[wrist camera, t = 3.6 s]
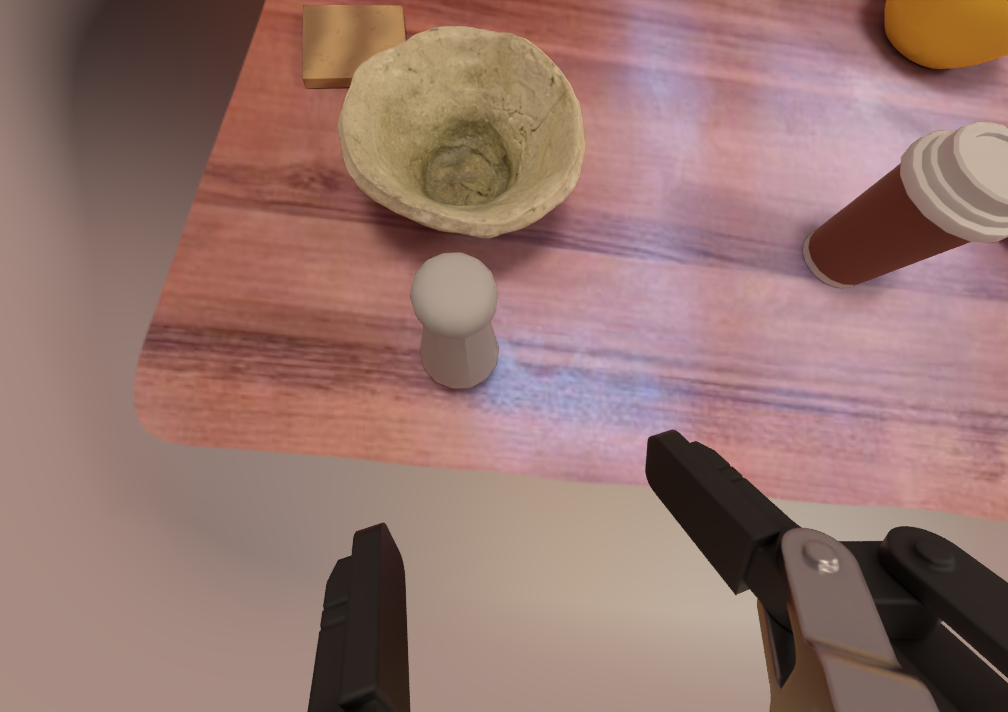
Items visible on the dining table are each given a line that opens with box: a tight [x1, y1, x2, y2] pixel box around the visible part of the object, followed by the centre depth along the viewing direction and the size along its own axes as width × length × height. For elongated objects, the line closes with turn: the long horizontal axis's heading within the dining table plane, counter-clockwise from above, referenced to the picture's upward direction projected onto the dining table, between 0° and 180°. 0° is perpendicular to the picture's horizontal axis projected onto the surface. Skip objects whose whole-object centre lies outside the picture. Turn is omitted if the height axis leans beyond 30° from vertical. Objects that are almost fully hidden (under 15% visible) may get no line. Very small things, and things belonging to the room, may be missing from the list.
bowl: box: [338, 26, 585, 238], centre depth 28 cm, size 14×18×15 cm
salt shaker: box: [410, 252, 499, 389], centre depth 23 cm, size 6×6×13 cm
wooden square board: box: [302, 5, 406, 88], centre depth 37 cm, size 10×10×1 cm
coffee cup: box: [803, 122, 1008, 288], centre depth 30 cm, size 9×9×12 cm
